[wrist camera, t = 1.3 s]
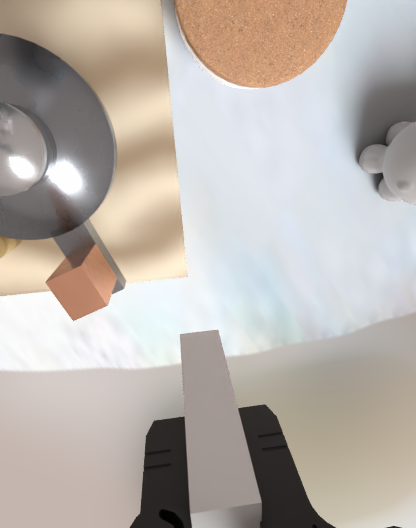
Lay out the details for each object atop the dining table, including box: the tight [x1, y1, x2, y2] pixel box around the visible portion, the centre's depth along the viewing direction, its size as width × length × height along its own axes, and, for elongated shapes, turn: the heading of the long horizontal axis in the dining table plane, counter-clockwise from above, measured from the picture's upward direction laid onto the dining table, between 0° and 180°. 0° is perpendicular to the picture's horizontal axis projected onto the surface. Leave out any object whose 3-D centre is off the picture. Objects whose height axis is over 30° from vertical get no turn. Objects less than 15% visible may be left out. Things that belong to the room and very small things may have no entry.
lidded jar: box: [174, 0, 347, 89], centre depth 22 cm, size 11×11×9 cm
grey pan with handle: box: [0, 33, 126, 321], centre depth 20 cm, size 18×12×6 cm
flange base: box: [0, 0, 187, 296], centre depth 25 cm, size 24×20×8 cm
